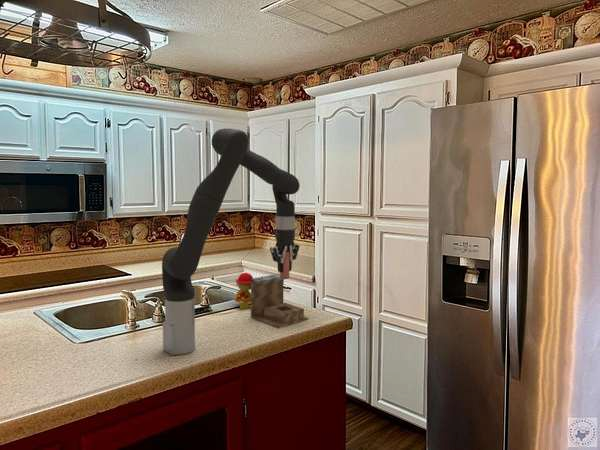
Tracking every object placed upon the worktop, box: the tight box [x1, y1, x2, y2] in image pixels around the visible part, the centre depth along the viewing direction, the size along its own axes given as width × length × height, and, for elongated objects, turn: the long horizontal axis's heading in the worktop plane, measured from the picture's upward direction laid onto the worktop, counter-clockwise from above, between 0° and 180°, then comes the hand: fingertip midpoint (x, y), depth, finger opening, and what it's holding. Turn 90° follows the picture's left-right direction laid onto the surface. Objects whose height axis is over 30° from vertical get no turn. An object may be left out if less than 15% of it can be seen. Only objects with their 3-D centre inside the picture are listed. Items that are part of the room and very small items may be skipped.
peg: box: [279, 252, 290, 279], centre depth 173 cm, size 4×4×10 cm
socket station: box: [250, 273, 309, 329], centre depth 176 cm, size 16×16×16 cm
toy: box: [234, 272, 254, 310], centre depth 191 cm, size 11×9×15 cm
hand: (284, 271), depth 173 cm, fingers closed on peg, 3 cm apart
